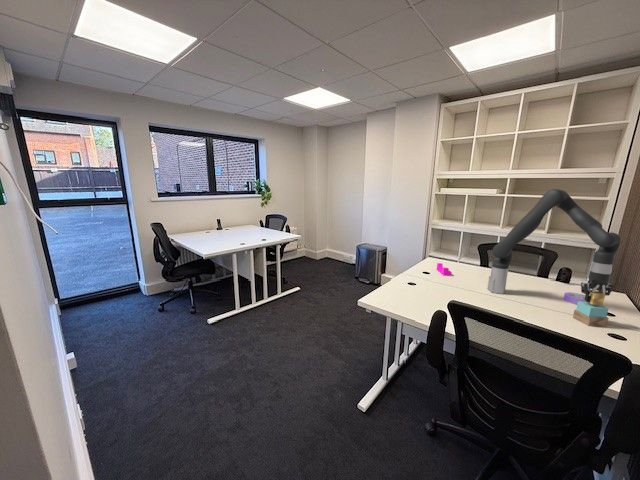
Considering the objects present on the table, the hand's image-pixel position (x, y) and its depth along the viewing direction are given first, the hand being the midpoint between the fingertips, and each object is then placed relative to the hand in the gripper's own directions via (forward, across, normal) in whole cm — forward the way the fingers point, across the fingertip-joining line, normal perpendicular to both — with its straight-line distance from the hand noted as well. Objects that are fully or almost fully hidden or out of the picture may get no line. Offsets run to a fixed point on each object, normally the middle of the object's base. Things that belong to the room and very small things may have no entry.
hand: (593, 301), depth 138 cm
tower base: (+12, 0, 0) cm, 12 cm away
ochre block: (0, 0, 0) cm, 0 cm away
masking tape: (+12, +15, +28) cm, 34 cm away
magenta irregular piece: (+12, -50, +72) cm, 89 cm away
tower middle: (+7, 0, 0) cm, 7 cm away
